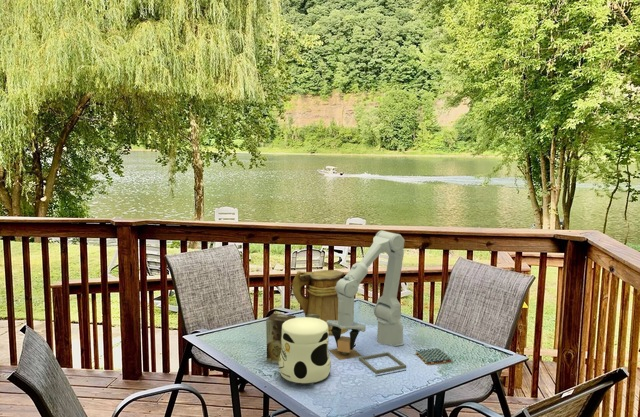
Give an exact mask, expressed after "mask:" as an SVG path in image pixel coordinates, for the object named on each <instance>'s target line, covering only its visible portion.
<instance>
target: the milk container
mask: <svg viewBox="0 0 640 417" xmlns="http://www.w3.org/2000/svg"><path fill="white" fill-rule="evenodd" d="M328 335H329V331H328V325H327V323H326V322H325V321H323V320H320V319H317V318H311V317H305V316H304V317H303V316H302V317H296V318H293V319H289V320H287V321H285V322H284V323H283V324H282V337H281V343H282V349H281V354H280V358H279V364H278V371H279V374H280V376H281V377H282V378H283V379H284V380H285V381H288V382H289V383H291V384H296V385H307V386H308V385H314V384H317V383H320V382H323V380H325V379H327V378H328V377H329V375H330V372H331V368H332V360H331V356H330V351H329V337H330V336H328Z"/></svg>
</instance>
